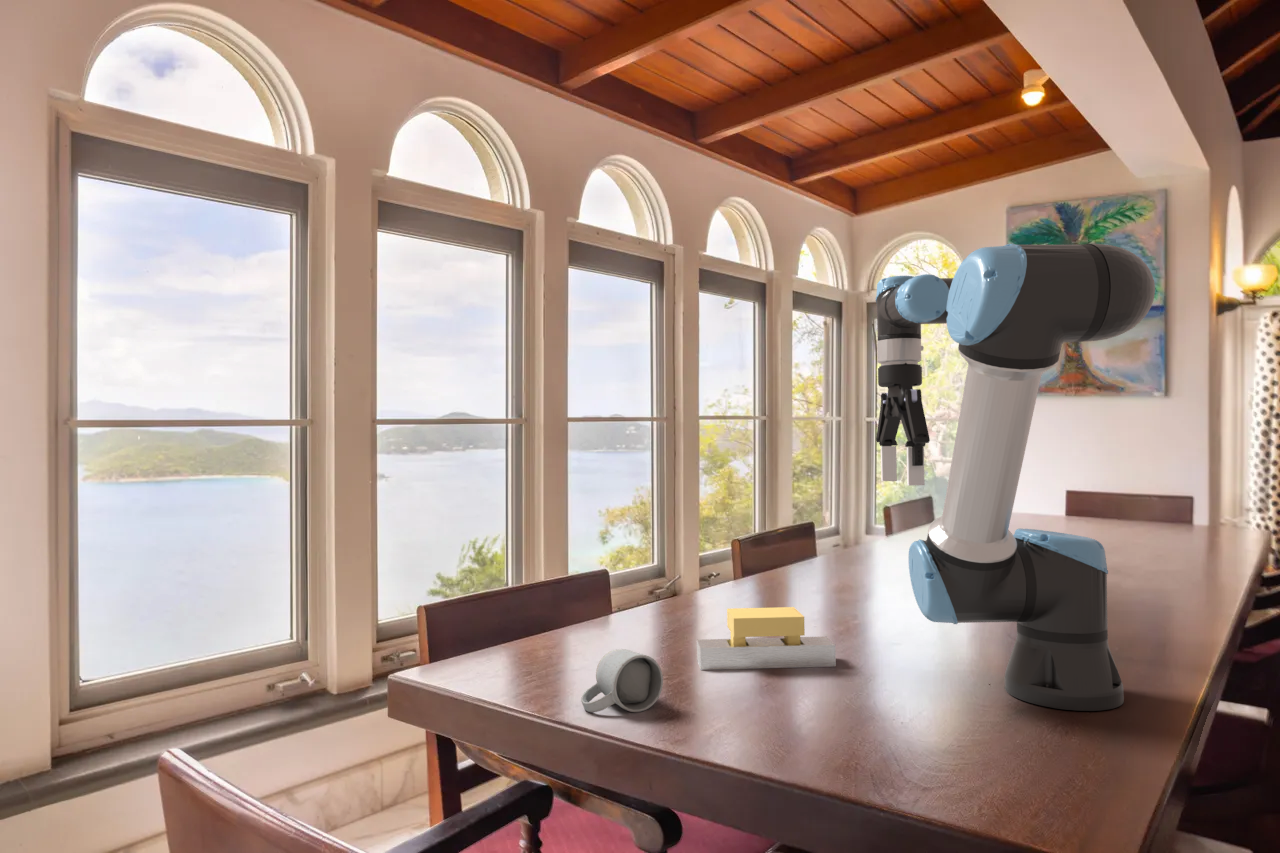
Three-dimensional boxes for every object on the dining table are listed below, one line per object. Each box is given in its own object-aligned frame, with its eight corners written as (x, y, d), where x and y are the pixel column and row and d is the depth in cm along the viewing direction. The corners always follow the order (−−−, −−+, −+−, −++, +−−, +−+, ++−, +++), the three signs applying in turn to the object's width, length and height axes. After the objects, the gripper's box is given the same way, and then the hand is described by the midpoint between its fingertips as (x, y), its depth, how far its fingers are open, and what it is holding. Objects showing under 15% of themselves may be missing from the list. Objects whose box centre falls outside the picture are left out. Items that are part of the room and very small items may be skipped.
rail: (835, 666, 135) (835, 644, 135) (700, 669, 134) (700, 648, 134) (826, 657, 140) (826, 636, 140) (697, 660, 140) (696, 639, 140)
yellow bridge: (805, 663, 134) (804, 616, 134) (734, 665, 133) (733, 618, 133) (794, 651, 141) (793, 607, 141) (727, 652, 141) (727, 608, 141)
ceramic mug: (637, 691, 123) (636, 640, 123) (665, 707, 116) (663, 652, 116) (571, 705, 118) (570, 651, 118) (596, 722, 111) (594, 664, 111)
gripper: (948, 357, 136) (951, 486, 136) (896, 369, 161) (898, 479, 161) (903, 358, 136) (906, 487, 136) (858, 370, 161) (860, 479, 161)
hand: (901, 483), depth 148 cm, fingers open, 13 cm apart
